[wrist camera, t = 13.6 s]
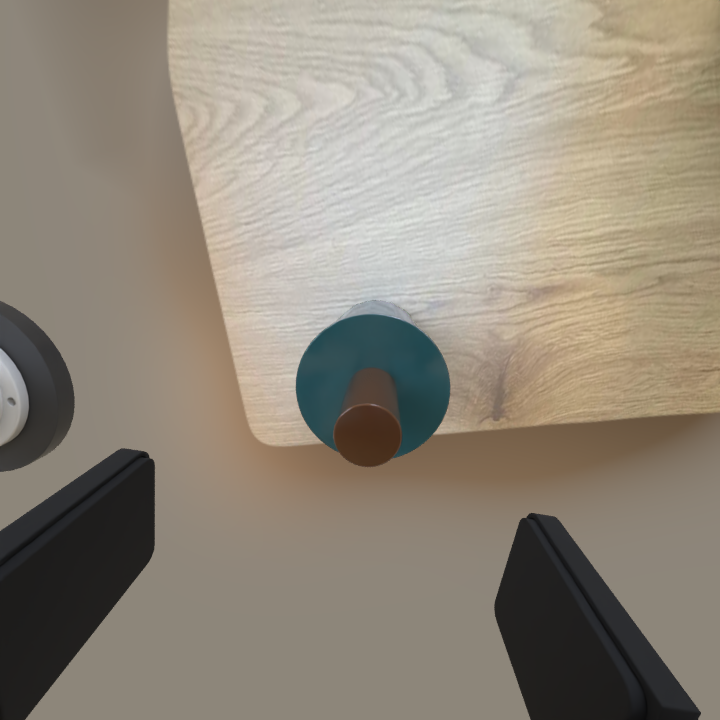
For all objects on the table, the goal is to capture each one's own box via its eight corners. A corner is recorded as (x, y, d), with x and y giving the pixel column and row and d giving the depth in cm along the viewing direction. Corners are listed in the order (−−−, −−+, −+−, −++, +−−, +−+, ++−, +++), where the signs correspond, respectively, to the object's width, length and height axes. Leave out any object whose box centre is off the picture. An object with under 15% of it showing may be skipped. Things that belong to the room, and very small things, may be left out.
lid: (293, 439, 22) (255, 509, 15) (308, 300, 19) (270, 314, 13) (431, 462, 21) (451, 543, 15) (461, 324, 19) (500, 350, 13)
